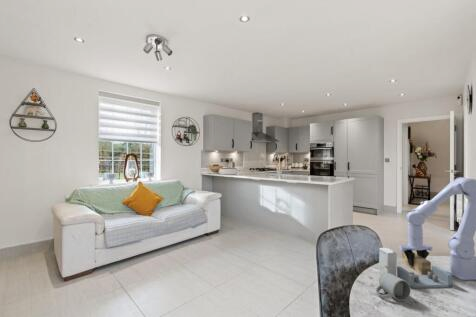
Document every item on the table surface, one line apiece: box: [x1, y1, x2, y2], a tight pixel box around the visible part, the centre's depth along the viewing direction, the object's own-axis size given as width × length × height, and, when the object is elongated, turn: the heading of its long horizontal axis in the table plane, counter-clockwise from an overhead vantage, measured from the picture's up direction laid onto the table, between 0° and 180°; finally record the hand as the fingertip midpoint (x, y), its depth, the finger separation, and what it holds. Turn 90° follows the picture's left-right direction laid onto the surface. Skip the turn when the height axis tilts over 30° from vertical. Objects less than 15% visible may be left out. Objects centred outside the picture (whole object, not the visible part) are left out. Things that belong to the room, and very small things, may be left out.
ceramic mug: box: [375, 273, 411, 302], centre depth 89 cm, size 11×8×8 cm
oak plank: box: [401, 251, 432, 275], centre depth 110 cm, size 12×4×6 cm, turn 179°
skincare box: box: [378, 247, 398, 277], centre depth 103 cm, size 6×4×12 cm
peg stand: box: [396, 265, 453, 289], centre depth 98 cm, size 17×8×5 cm, turn 89°
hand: (415, 265), depth 110 cm, fingers closed on oak plank, 4 cm apart
